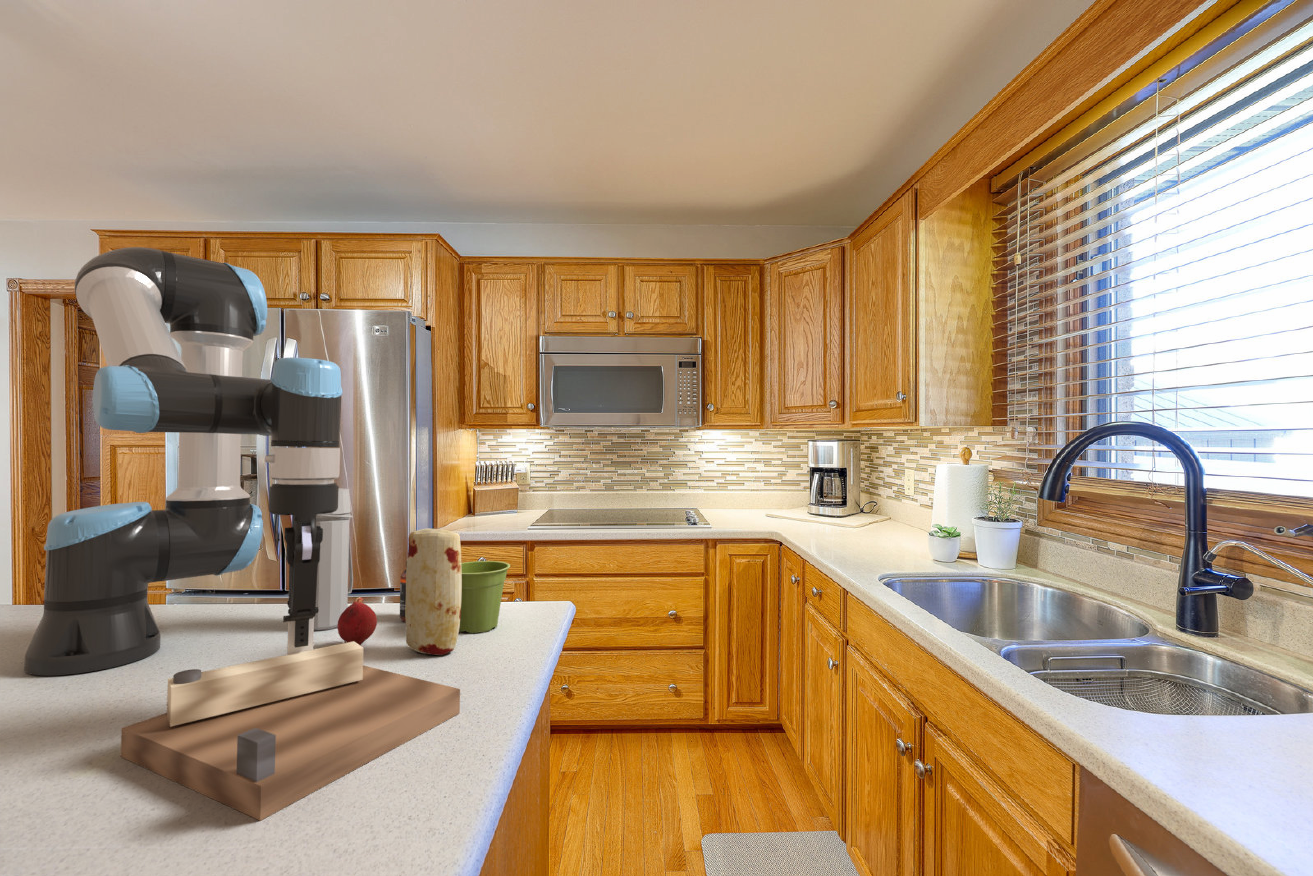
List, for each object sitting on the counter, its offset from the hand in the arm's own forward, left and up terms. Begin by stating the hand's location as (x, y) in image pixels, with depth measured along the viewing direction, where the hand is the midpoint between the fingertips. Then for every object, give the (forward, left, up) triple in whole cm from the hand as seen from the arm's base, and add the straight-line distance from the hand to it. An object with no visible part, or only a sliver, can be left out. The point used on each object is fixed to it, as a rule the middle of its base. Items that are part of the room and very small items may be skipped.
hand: (299, 669), depth 75 cm
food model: (-1, +23, -5) cm, 24 cm away
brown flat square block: (+7, -4, -5) cm, 9 cm away
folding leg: (+1, -4, -2) cm, 5 cm away
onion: (-14, +19, -5) cm, 25 cm away
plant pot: (-4, +36, -5) cm, 37 cm away
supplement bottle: (-18, +35, -5) cm, 40 cm away
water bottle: (-29, +25, -5) cm, 39 cm away
